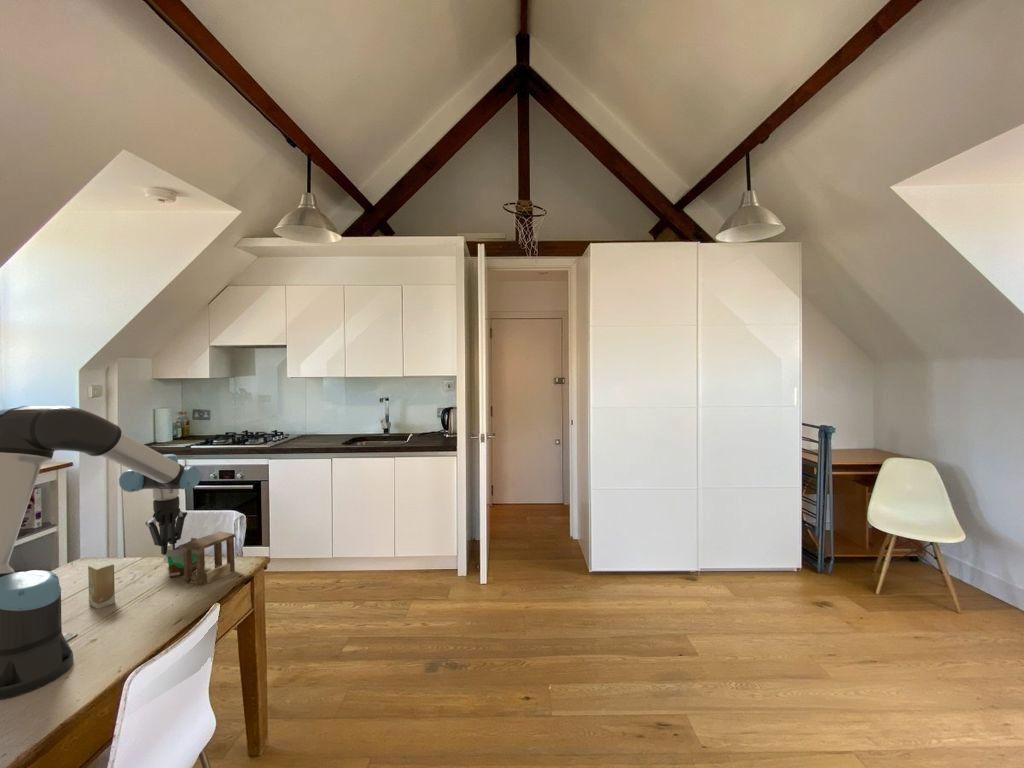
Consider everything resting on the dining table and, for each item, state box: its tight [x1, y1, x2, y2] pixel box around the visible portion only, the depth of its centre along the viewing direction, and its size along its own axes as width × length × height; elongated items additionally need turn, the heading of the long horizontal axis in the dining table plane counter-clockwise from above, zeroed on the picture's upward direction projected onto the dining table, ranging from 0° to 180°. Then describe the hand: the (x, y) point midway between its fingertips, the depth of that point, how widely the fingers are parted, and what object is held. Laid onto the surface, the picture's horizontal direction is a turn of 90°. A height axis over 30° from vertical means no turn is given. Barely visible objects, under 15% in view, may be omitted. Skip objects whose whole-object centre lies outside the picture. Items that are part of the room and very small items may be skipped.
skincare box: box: [87, 560, 116, 610], centre depth 136 cm, size 6×4×12 cm
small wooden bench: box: [181, 531, 236, 587], centre depth 154 cm, size 13×8×13 cm, turn 159°
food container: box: [166, 537, 198, 579], centre depth 158 cm, size 12×6×10 cm, turn 179°
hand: (168, 562), depth 162 cm, fingers closed
